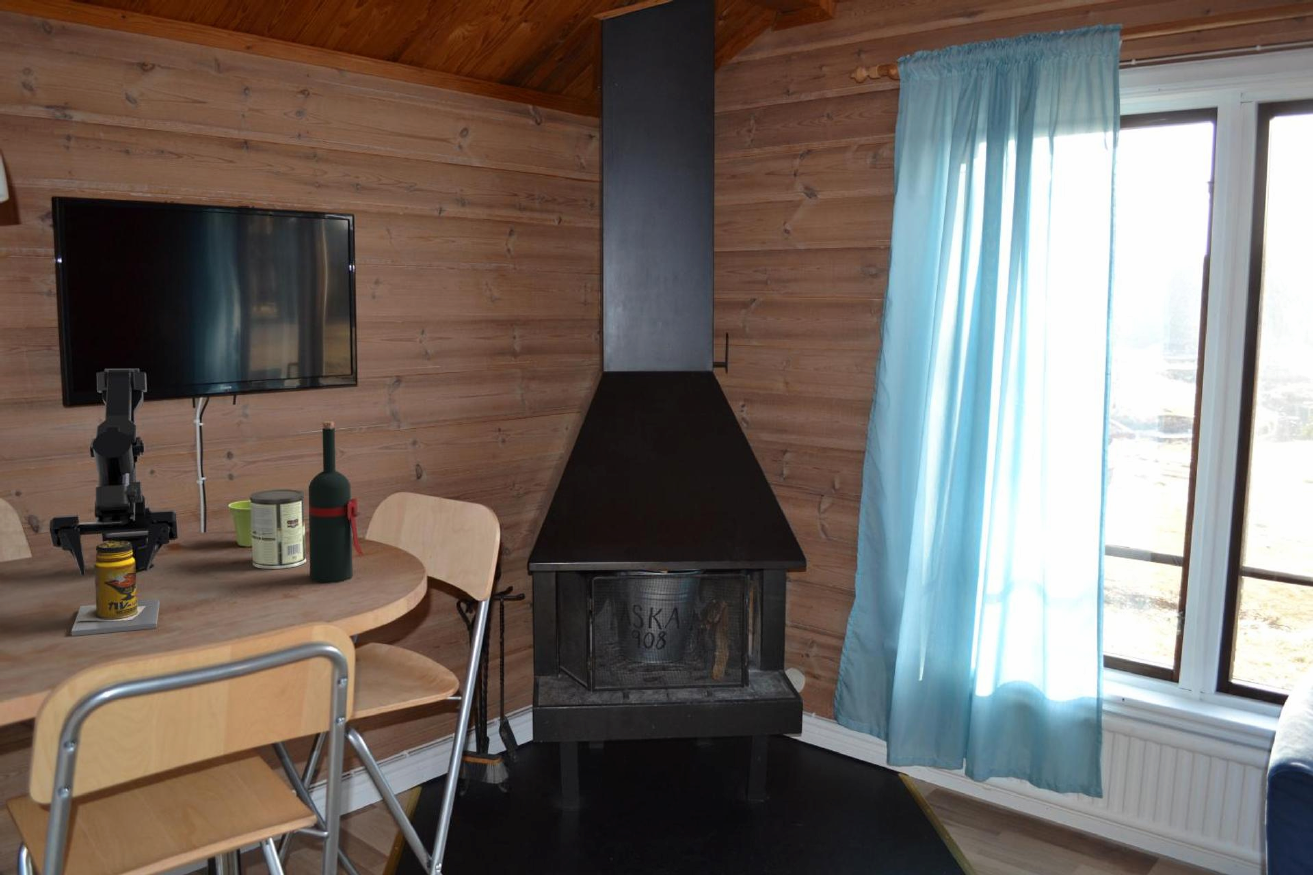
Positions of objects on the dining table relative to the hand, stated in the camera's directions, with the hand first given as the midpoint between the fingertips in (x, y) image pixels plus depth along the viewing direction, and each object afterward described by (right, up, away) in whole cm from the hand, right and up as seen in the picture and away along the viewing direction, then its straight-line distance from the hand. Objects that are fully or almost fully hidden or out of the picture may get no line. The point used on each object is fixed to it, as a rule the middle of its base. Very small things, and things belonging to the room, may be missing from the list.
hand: (114, 571), depth 171 cm
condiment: (-2, -8, +2) cm, 8 cm away
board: (-1, -8, +2) cm, 8 cm away
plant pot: (+2, -1, +55) cm, 55 cm away
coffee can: (+12, -3, +40) cm, 42 cm away
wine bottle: (+27, -5, +30) cm, 41 cm away
